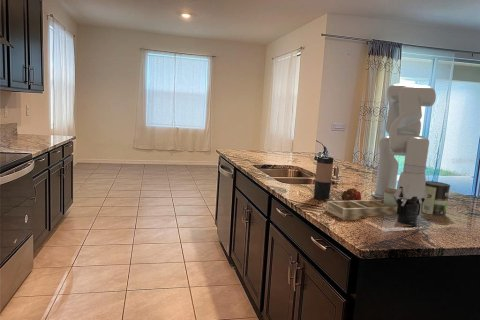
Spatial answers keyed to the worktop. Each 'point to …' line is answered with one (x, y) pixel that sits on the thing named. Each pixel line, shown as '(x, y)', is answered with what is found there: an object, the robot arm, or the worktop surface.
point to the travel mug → (323, 178)
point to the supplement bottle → (410, 213)
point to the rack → (359, 209)
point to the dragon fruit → (351, 195)
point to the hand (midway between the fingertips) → (407, 214)
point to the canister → (389, 197)
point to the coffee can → (435, 198)
